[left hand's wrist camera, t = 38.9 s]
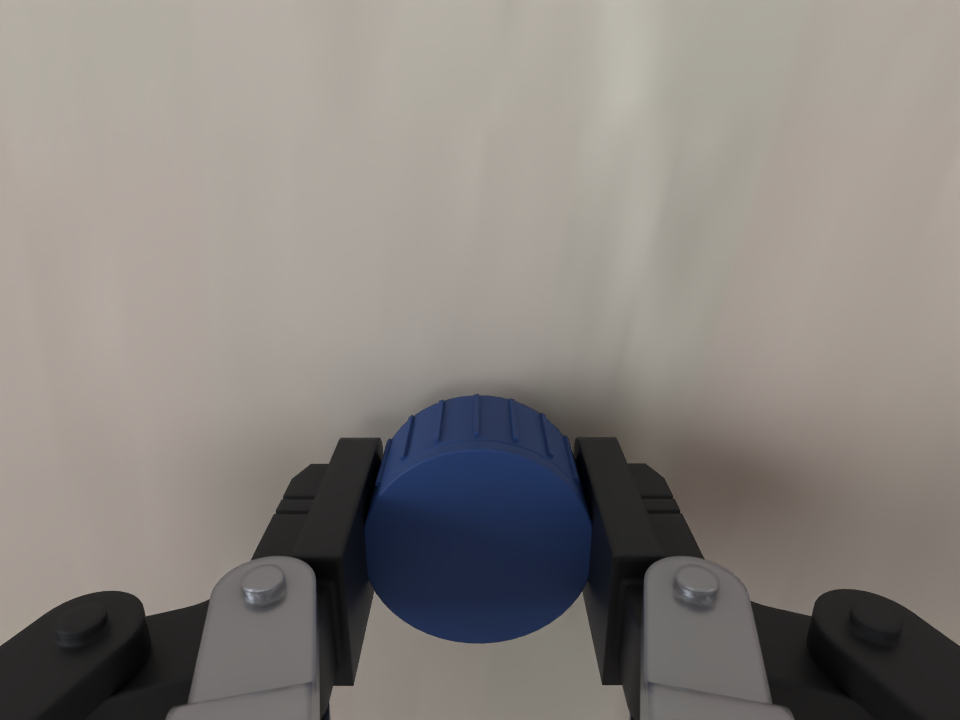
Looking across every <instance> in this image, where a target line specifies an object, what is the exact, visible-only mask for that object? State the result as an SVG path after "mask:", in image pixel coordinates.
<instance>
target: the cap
mask: <svg viewBox="0 0 960 720" xmlns="http://www.w3.org/2000/svg"><path fill="white" fill-rule="evenodd" d="M364 531H365V544H366V558H367V571H368V579H369V581H370V583H371V585H372V587H373V589H374V590H375V592H376V594H377V595H378V596H379V598H380V599H381V600H382V602H383V603H384V604H385V605H386V606H387V607H388V608H389V609H390V610H391V611H392V612H393V613H394V614H395V615H397V616H398V617H399V618H401V619H402V620H403V621H405V622H406V623H408V624H409V625H411V626H413V627H414V628H416V629H418V630H421V631H423V632H425V633H427V634H430V635H433V636H436V637H439V638H442V639H446V640H451V641H455V642H463V643H494V642H501V641H507V640H512V639H515V638H518V637H522V636H525V635H527V634H530V633H532V632H534V631H537V630H539V629H541V628H542V627H544V626H546V625H548V624H549V623H551V622H552V621H554V620H555V619H556V618H558V617H559V616H561V615H562V614H563V613H564V612H565V611H566V610H567V609H568V608H569V607H570V606H571V605H572V604H573V603H574V601H575V600H576V599H577V598H578V597H579V595H580V593H581V592H582V590H583V589H584V587H585V585H586V583H587V581H588V575H589V562H590V548H591V534H592V520H591V516H590V513H589V509H588V505H587V501H586V498H585V494H584V490H583V487H582V483H581V479H580V475H579V472H578V468H577V464H576V461H575V458H574V455H573V453H572V450H571V447H570V443H569V440H568V438H567V436H563V435H562V434H561V433H560V431H559V430H558V429H557V428H556V427H555V426H554V425H553V424H552V423H551V422H550V421H549V420H548V419H546V416H545V415H544V414H543V413H541V414H540V413H538V412H536V411H535V410H533V409H531V408H529V407H528V406H525V405H523V404H520V403H518V402H515V400H514V399H510V400H508V399H505V398H501V397H493V396H479V394H474V395H473V396H463V397H457V398H453V399H448V400H445V401H444V400H441V401H439V403H437V404H434V405H432V406H430V407H428V408H426V409H424V410H422V411H421V412H419V413H418V414H416V415H415V416H413V415H411V416H410V417H409V419H408V421H407V422H406V423H405V424H404V425H403V426H402V427H401V428H400V429H399V431H398V432H397V433H396V434H395V435H394V437H393V438H392V439H390V438H389V439H388V441H387V444H386V447H385V451H384V455H383V458H382V462H381V465H380V469H379V472H378V476H377V480H376V483H375V487H374V491H373V495H372V498H371V502H370V505H369V509H368V512H367V516H366V520H365V523H364Z"/></svg>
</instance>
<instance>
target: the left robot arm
mask: <svg viewBox="0 0 960 720" xmlns="http://www.w3.org/2000/svg"><path fill="white" fill-rule="evenodd" d="M382 458H383V447H382V441H381V438H340V440H339V442H338V444H337V446H336V449H335V451H334V453H333V456H332V458H331V460H330V463H329V464H310V465H309V466H308V467H306V468H305V469H304V470H303V471H301V472H300V473H299V474H298V475H296V476H295V477H294V478H293V479H292V480H291V482H290V484H289V486H288V488H287V490H286V492H285V494H284V496H283V500H281V502H280V504H279V506H278V508H277V509H276V514H274V515H273V517H272V519H271V521H270V523H269V525H268V527H267V529H266V531H265V533H264V535H263V537H262V539H261V541H260V543H259V545H258V547H257V549H256V551H255V553H254V555H253V557H252V559H251V561H249V562H246V563H244V564H242V565H240V566H238V567H236V568H234V569H233V570H231V571H230V572H228V573H227V574H226V575H225V576H223V577H222V578H221V579H220V580H219V582H218V583H217V584H216V585H215V587H214V589H213V591H212V594H211V597H210V599H209V600H207V601H205V602H202V603H199V604H197V605H193V606H190V607H186V608H182V609H178V610H173V611H169V612H164V613H160V614H155V615H151V616H145V612H144V608H143V604H142V603H141V601H140V600H139V599H138V598H137V597H135V596H134V595H132V594H129V593H126V592H121V591H102V592H96V593H91V594H87V595H83V596H80V597H77V598H74V599H72V600H70V601H67V602H65V603H63V604H61V605H59V606H57V607H55V608H54V609H52V610H50V611H49V612H47V613H46V614H44V615H43V616H42V617H40V618H39V619H37V620H36V621H35V622H33V623H32V624H30V625H29V626H28V627H26V628H25V629H24V630H22V631H21V632H19V633H18V634H17V635H15V636H14V637H12V638H11V639H10V640H8V641H7V642H5V643H4V644H3V645H1V646H0V720H331V714H330V705H329V700H330V696H331V692H332V688H333V686H353V685H354V681H355V676H356V672H357V667H358V663H359V658H360V653H361V649H362V644H363V640H364V635H365V631H366V626H367V621H368V617H369V612H370V608H371V603H372V599H373V594H374V589H373V587H372V585H371V583H370V581H369V579H368V571H367V558H366V544H365V531H364V523H365V520H366V516H367V512H368V509H369V505H370V502H371V498H372V495H373V491H374V487H375V483H376V480H377V476H378V472H379V469H380V465H381V462H382ZM574 458H575V461H576V464H577V468H578V472H579V475H580V479H581V483H582V487H583V490H584V494H585V498H586V501H587V505H588V509H589V513H590V516H591V520H592V534H591V548H590V562H589V575H588V581H587V583H586V585H585V587H584V589H583V590H582V591H583V596H584V601H585V606H586V610H587V615H588V620H589V625H590V629H591V634H592V639H593V644H594V648H595V653H596V658H597V662H598V667H599V672H600V677H601V681H602V685H623V689H624V694H625V698H626V702H627V706H628V709H629V711H630V714H629V720H960V646H959V645H957V644H956V643H954V642H953V641H952V640H950V639H949V638H948V637H946V636H945V635H943V634H942V633H941V632H939V631H938V630H936V629H935V628H934V627H932V626H931V625H930V624H928V623H927V622H925V621H924V620H923V619H921V618H920V617H918V616H917V615H916V614H914V613H913V612H911V611H910V610H908V609H907V608H905V607H904V606H902V605H900V604H898V603H896V602H894V601H892V600H890V599H887V598H885V597H883V596H880V595H877V594H874V593H870V592H866V591H860V590H854V589H839V590H833V591H829V592H826V593H824V594H822V595H821V596H820V597H818V599H817V600H816V602H815V605H814V608H813V613H812V616H807V615H803V614H798V613H794V612H790V611H785V610H781V609H776V608H772V607H768V606H764V605H761V604H758V603H755V602H752V601H750V597H749V594H748V591H747V589H746V587H745V585H744V584H743V583H742V582H741V580H740V579H739V578H738V577H737V576H735V575H734V574H733V573H732V572H730V571H729V570H727V569H726V568H724V567H722V566H720V565H718V564H716V563H714V562H711V561H708V560H705V559H704V557H703V555H702V553H701V551H700V549H699V547H698V545H697V543H696V541H695V539H694V537H693V535H692V533H691V531H690V529H689V527H688V525H687V523H686V521H685V519H684V517H683V515H682V514H680V509H679V507H678V505H677V503H676V501H675V499H673V495H672V493H671V491H670V489H669V487H668V485H667V483H666V481H665V479H664V478H663V477H662V476H661V475H659V474H658V473H657V472H656V471H654V470H653V469H652V468H650V467H649V466H648V465H647V464H627V462H626V459H625V457H624V455H623V452H622V450H621V447H620V445H619V442H618V440H617V438H615V437H577V438H576V440H575V444H574Z"/></svg>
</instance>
